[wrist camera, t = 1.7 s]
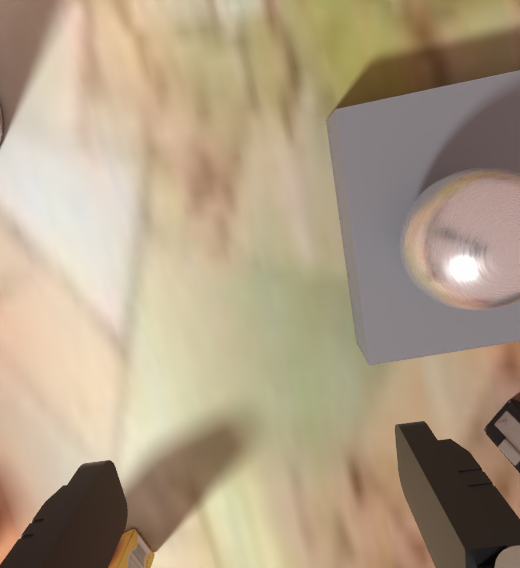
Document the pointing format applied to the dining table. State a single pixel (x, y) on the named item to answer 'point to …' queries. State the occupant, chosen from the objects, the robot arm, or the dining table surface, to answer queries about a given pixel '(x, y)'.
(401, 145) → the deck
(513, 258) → the ball
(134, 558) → the candy box
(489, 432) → the camera
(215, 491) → the dining table surface
